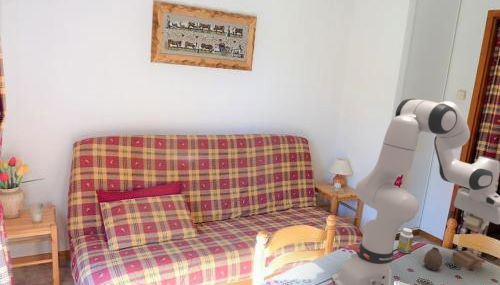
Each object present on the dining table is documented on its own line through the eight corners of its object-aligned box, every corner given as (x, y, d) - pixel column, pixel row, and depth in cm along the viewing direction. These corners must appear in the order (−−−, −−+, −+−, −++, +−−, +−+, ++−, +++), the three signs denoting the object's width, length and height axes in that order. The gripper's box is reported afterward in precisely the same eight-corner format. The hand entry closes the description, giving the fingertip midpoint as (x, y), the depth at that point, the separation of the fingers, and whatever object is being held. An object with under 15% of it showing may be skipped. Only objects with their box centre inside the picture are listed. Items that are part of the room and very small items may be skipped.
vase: (443, 273, 152) (447, 254, 151) (425, 270, 154) (428, 250, 152) (438, 265, 159) (442, 246, 157) (421, 262, 160) (424, 243, 159)
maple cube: (475, 231, 156) (478, 220, 155) (464, 226, 160) (467, 215, 159) (483, 230, 158) (485, 219, 157) (472, 225, 163) (474, 214, 162)
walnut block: (466, 269, 158) (468, 260, 157) (451, 259, 165) (453, 251, 165) (481, 268, 160) (482, 259, 159) (465, 258, 168) (467, 250, 167)
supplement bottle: (408, 248, 172) (412, 227, 170) (412, 254, 167) (416, 233, 165) (395, 247, 173) (399, 226, 170) (399, 252, 167) (403, 231, 165)
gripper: (454, 186, 164) (448, 216, 167) (501, 203, 146) (493, 236, 149) (463, 185, 167) (457, 214, 170) (510, 202, 149) (503, 234, 151)
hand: (474, 225), depth 159 cm, fingers closed on maple cube, 5 cm apart
